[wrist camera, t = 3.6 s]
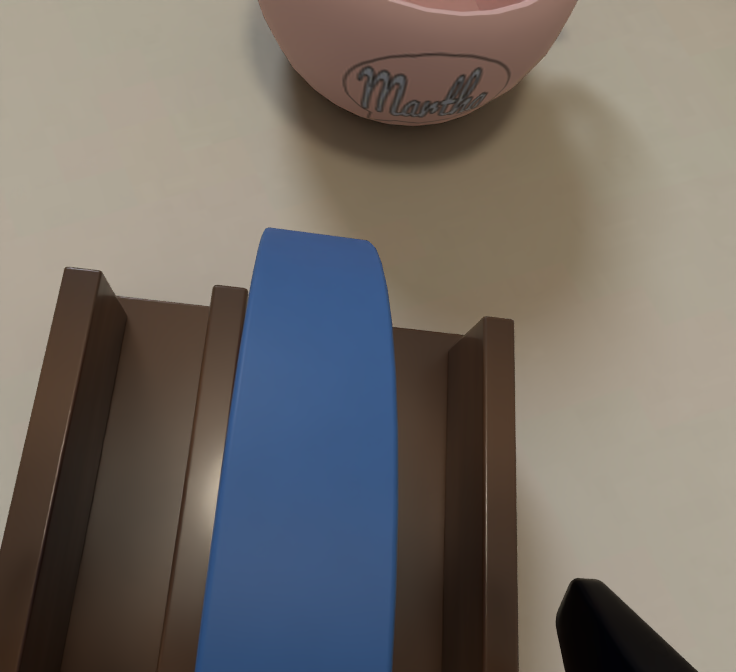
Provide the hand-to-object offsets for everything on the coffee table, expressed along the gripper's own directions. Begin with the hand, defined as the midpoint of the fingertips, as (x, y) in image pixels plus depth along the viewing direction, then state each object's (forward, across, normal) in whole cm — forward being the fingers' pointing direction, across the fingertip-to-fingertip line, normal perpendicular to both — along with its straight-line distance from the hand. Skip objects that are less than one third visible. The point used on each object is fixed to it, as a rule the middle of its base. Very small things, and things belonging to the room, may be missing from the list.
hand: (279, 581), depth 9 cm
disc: (+5, 0, +5) cm, 7 cm away
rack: (+6, 0, +6) cm, 8 cm away
